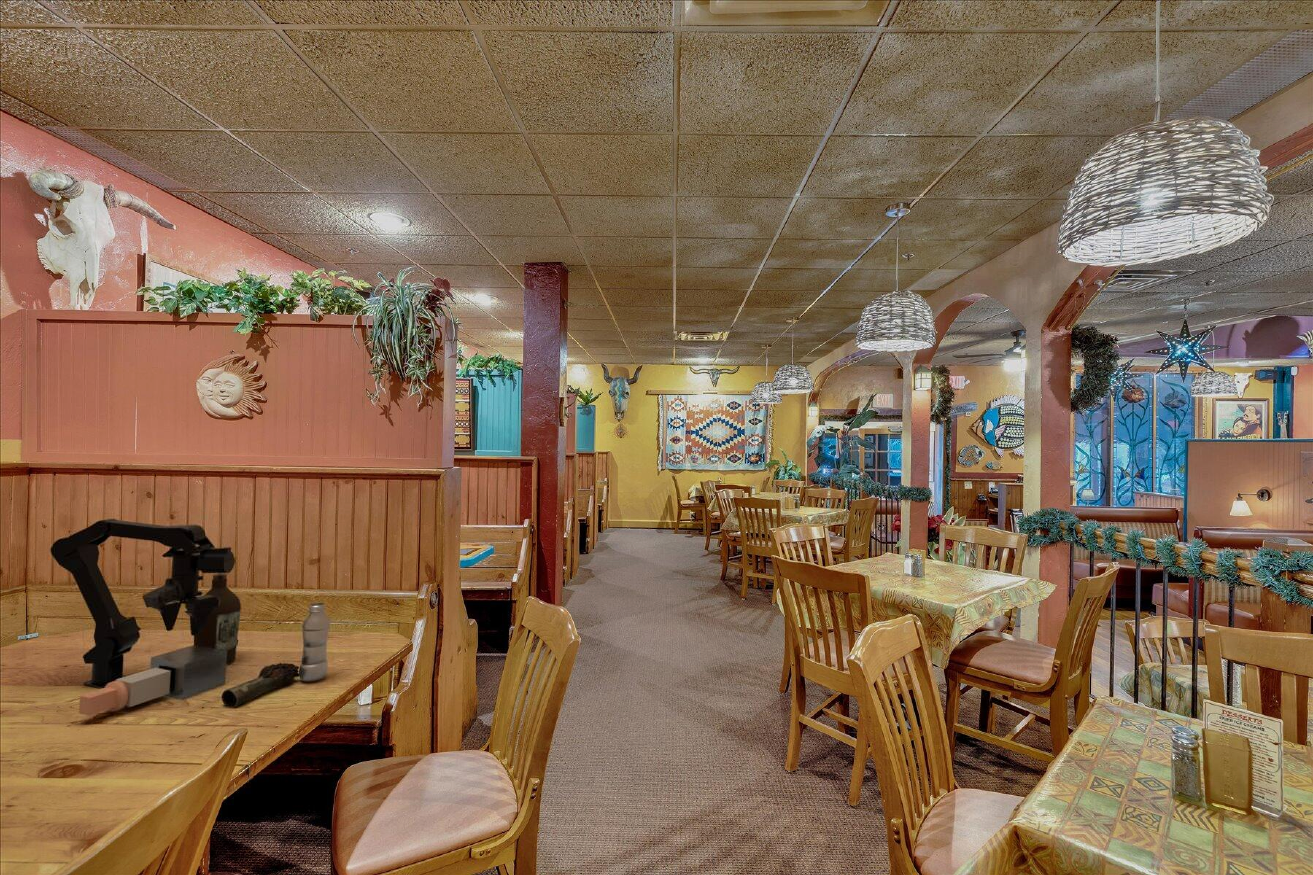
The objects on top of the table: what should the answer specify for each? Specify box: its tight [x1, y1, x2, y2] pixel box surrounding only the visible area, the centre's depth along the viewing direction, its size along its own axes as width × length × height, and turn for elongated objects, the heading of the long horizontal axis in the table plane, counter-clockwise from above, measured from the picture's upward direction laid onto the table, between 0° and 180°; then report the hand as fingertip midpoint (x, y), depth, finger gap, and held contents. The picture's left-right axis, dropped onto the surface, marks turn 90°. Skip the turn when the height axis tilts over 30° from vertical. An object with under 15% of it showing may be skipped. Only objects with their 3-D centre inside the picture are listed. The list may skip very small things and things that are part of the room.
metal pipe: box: [221, 662, 300, 709], centre depth 142 cm, size 18×7×6 cm, turn 164°
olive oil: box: [193, 573, 242, 666], centre depth 160 cm, size 11×11×25 cm
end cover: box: [78, 668, 171, 717], centre depth 130 cm, size 6×15×6 cm, turn 162°
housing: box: [149, 644, 227, 700], centre depth 143 cm, size 12×10×8 cm
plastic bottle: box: [298, 602, 331, 682], centre depth 150 cm, size 6×7×20 cm
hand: (181, 632), depth 148 cm, fingers open, 9 cm apart
